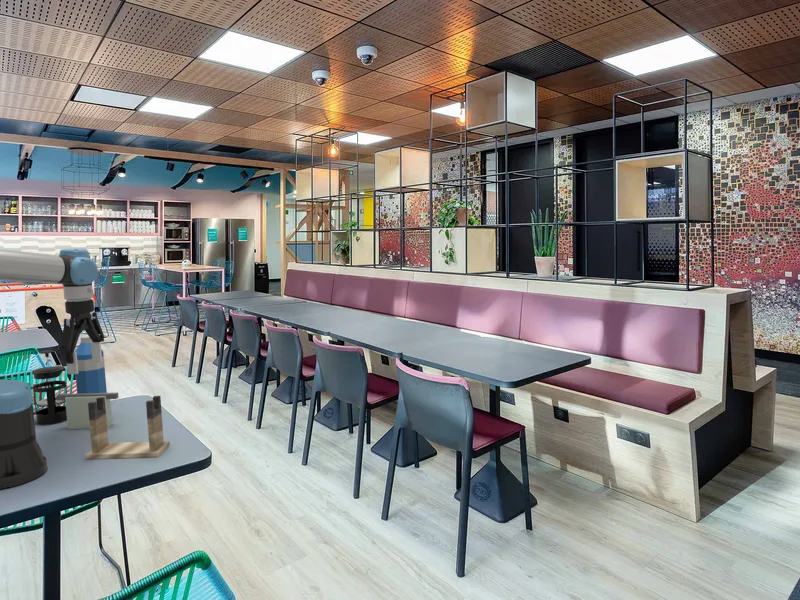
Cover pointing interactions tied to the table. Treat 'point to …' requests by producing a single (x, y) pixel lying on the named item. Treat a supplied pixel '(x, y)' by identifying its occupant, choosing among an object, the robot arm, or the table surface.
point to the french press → (49, 394)
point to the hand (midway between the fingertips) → (85, 367)
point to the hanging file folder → (84, 408)
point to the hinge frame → (126, 449)
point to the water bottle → (89, 369)
